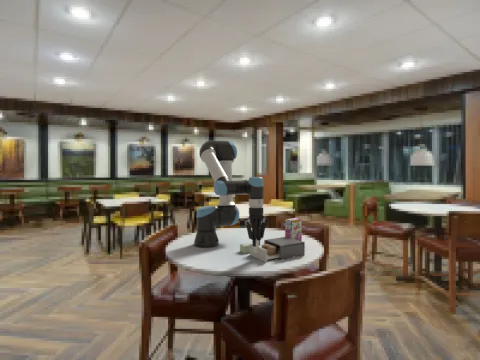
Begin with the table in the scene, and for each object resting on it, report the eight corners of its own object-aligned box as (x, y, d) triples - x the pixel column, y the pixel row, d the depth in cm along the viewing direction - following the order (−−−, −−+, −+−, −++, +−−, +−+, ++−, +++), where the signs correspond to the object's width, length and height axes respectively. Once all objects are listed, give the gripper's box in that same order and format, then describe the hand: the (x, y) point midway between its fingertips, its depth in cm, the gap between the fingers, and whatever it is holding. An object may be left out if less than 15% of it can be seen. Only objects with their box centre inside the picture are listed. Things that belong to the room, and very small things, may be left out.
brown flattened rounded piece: (258, 252, 156) (258, 245, 156) (270, 250, 161) (270, 243, 160) (267, 256, 150) (267, 248, 149) (279, 254, 154) (279, 246, 154)
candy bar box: (291, 248, 170) (291, 220, 170) (284, 246, 174) (284, 219, 173) (302, 244, 178) (302, 218, 177) (295, 243, 182) (295, 217, 181)
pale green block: (240, 251, 165) (239, 244, 165) (247, 249, 168) (247, 243, 167) (244, 253, 161) (244, 246, 161) (252, 252, 163) (252, 245, 163)
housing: (286, 248, 170) (286, 236, 170) (304, 254, 157) (304, 242, 157) (264, 252, 162) (264, 240, 162) (280, 259, 149) (280, 246, 149)
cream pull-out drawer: (273, 250, 165) (273, 240, 165) (290, 257, 152) (290, 246, 152) (249, 254, 158) (249, 243, 157) (265, 262, 145) (265, 250, 145)
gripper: (248, 208, 143) (249, 256, 144) (270, 206, 150) (270, 252, 151) (241, 206, 150) (241, 252, 151) (262, 205, 156) (262, 248, 157)
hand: (256, 252), depth 151 cm, fingers closed
